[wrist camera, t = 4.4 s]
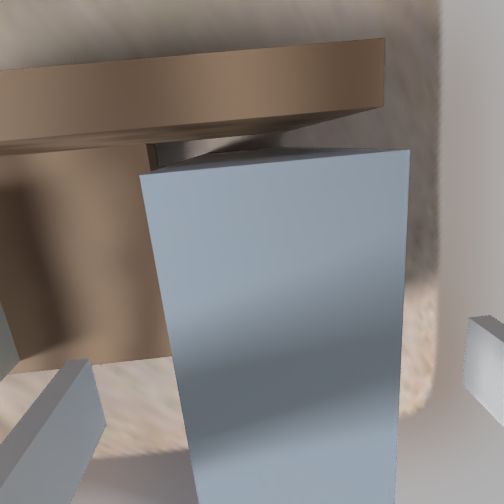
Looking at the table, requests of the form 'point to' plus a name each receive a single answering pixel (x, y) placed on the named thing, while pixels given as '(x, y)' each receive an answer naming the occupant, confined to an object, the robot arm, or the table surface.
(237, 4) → the table surface
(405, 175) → the boxed book
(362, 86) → the shelf
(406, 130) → the table surface
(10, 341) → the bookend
